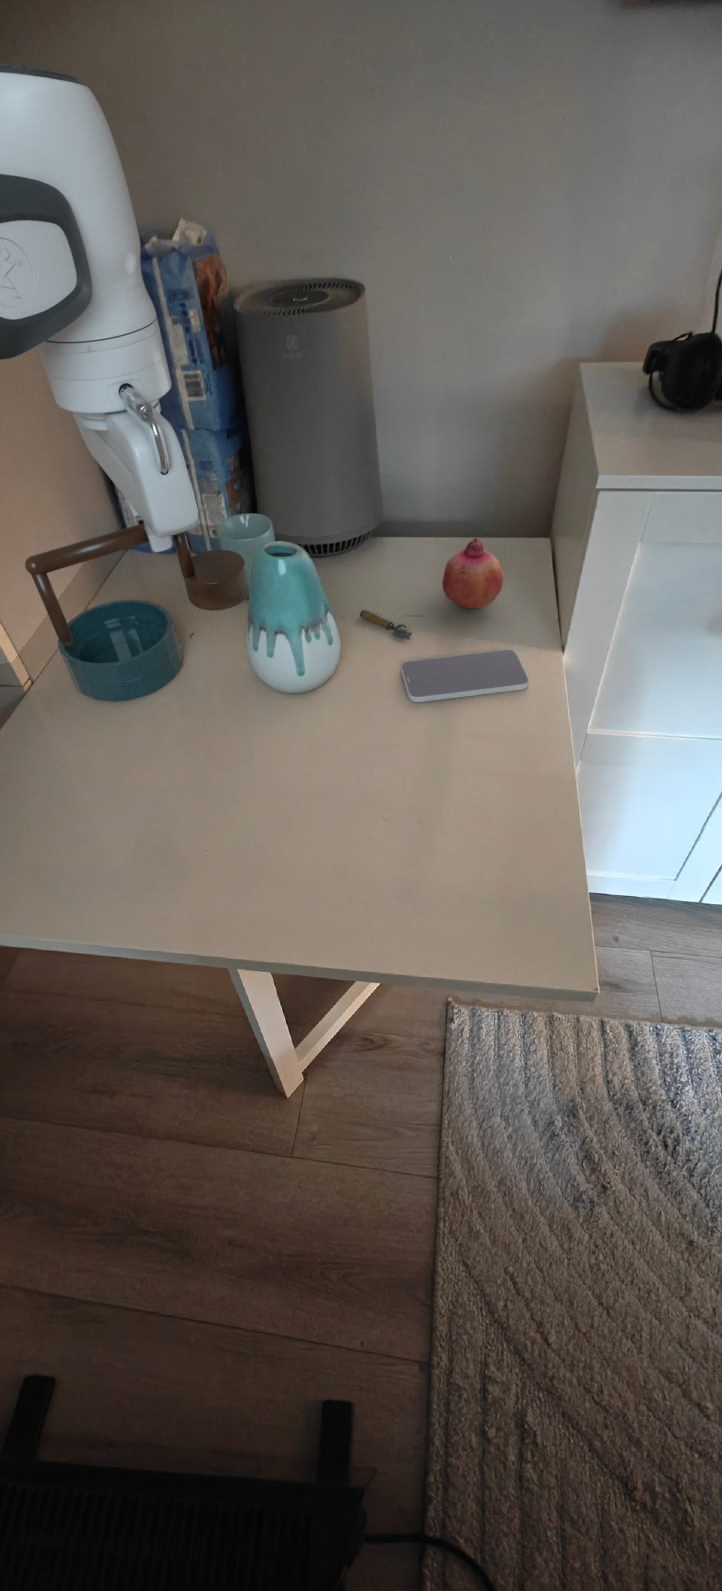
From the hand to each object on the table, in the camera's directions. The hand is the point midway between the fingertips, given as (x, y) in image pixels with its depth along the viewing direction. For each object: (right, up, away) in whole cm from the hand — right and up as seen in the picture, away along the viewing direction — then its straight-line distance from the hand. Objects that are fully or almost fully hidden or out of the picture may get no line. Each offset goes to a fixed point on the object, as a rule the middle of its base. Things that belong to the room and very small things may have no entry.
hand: (155, 540), depth 65 cm
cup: (+3, +8, +43) cm, 44 cm away
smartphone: (+31, -8, +27) cm, 42 cm away
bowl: (-12, -6, +32) cm, 34 cm away
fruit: (+34, +4, +37) cm, 50 cm away
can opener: (+22, 0, +35) cm, 41 cm away
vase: (+10, -7, +29) cm, 31 cm away
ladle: (-1, -5, +5) cm, 7 cm away
